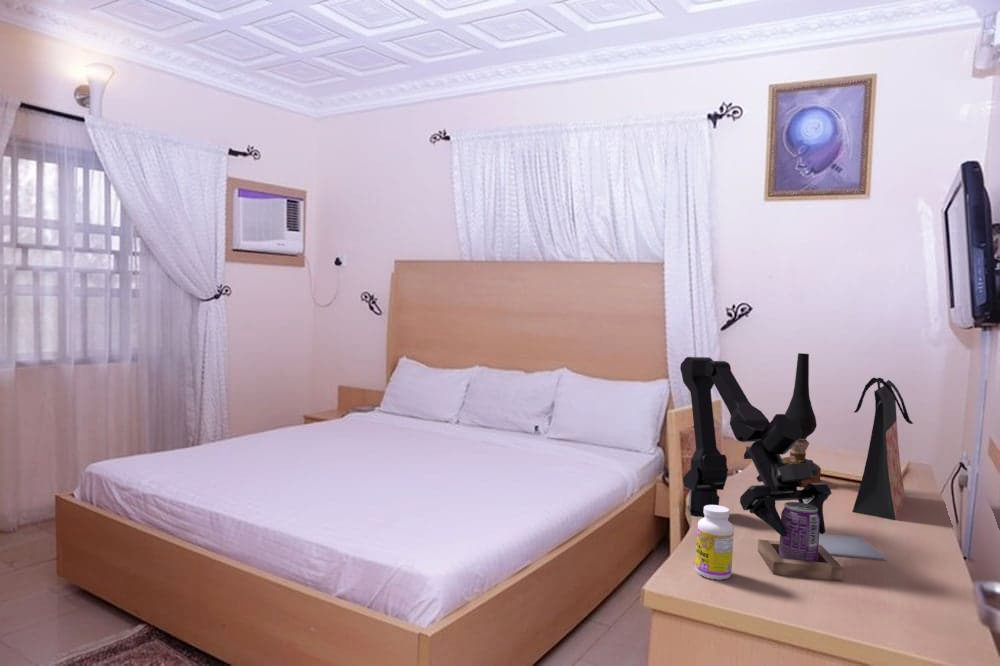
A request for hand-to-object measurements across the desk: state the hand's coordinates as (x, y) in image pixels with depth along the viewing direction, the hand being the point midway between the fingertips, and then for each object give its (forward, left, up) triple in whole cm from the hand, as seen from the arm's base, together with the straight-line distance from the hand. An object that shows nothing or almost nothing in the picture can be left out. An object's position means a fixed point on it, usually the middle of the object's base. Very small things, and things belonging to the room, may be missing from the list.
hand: (804, 534), depth 131 cm
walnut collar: (-1, +1, -7) cm, 7 cm away
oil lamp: (+19, +73, -7) cm, 76 cm away
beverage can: (-1, +1, -7) cm, 7 cm away
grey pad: (+12, +15, -7) cm, 21 cm away
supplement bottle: (-19, -8, -7) cm, 21 cm away
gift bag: (+34, +52, -7) cm, 62 cm away
